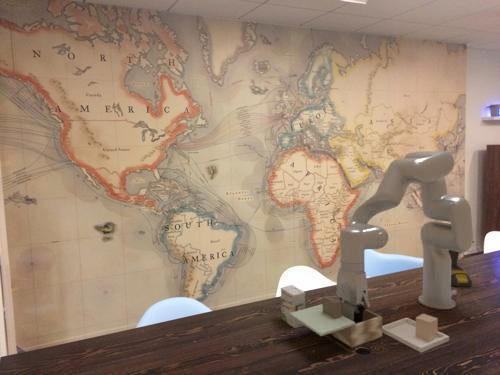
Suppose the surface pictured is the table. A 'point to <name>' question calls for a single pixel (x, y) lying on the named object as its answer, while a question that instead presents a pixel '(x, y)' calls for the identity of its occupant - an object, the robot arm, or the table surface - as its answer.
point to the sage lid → (323, 317)
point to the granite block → (348, 310)
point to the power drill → (458, 272)
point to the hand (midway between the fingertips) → (352, 319)
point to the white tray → (411, 335)
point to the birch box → (361, 330)
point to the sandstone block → (426, 327)
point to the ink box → (292, 304)
